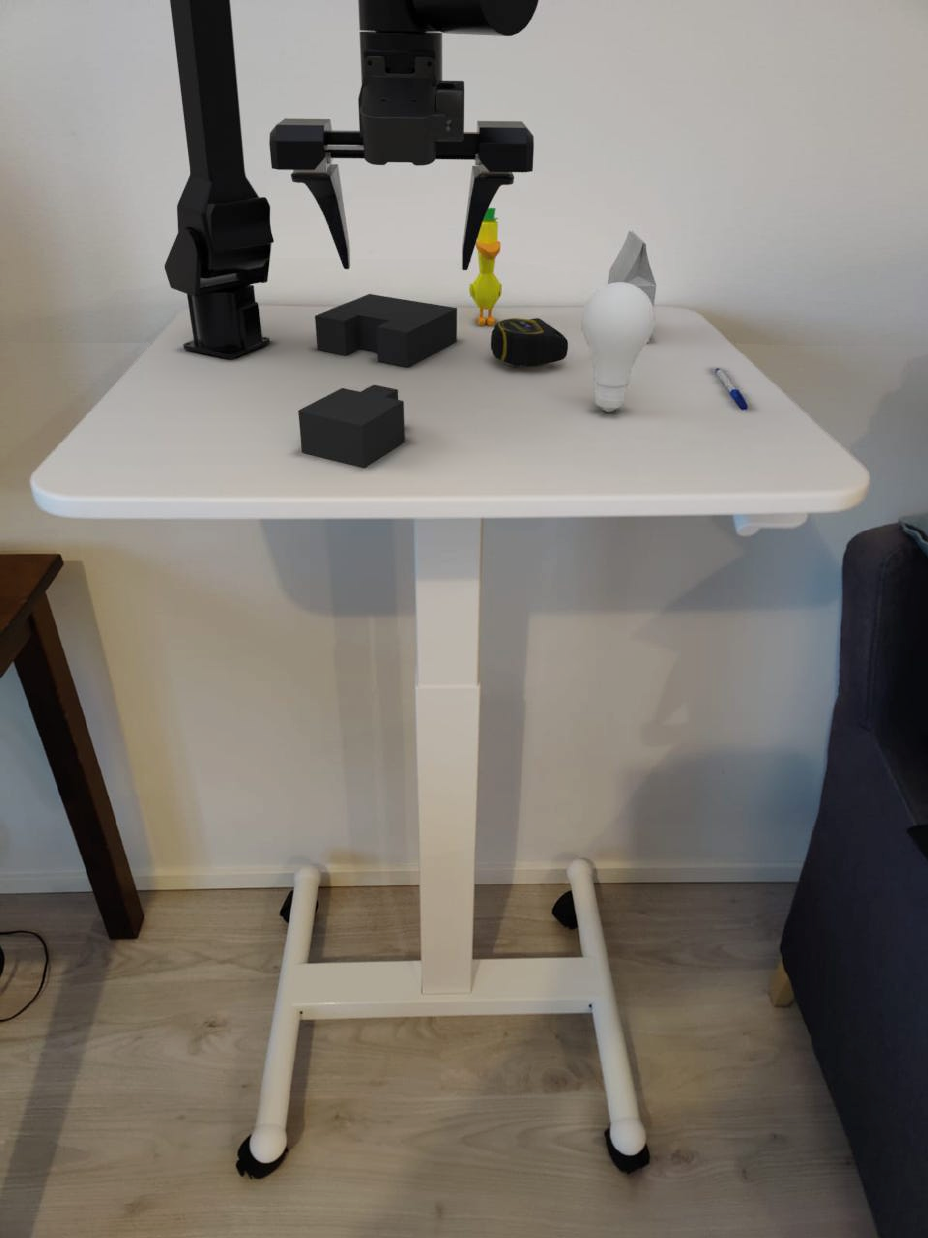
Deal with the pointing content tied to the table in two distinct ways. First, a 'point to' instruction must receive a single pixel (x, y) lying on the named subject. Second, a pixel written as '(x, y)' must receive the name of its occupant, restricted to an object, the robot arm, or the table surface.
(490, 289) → the toy figure
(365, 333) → the notch pad
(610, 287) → the lightbulb
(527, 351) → the tape measure
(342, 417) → the pad
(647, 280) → the grey faceted shape
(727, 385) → the blue marker pen
